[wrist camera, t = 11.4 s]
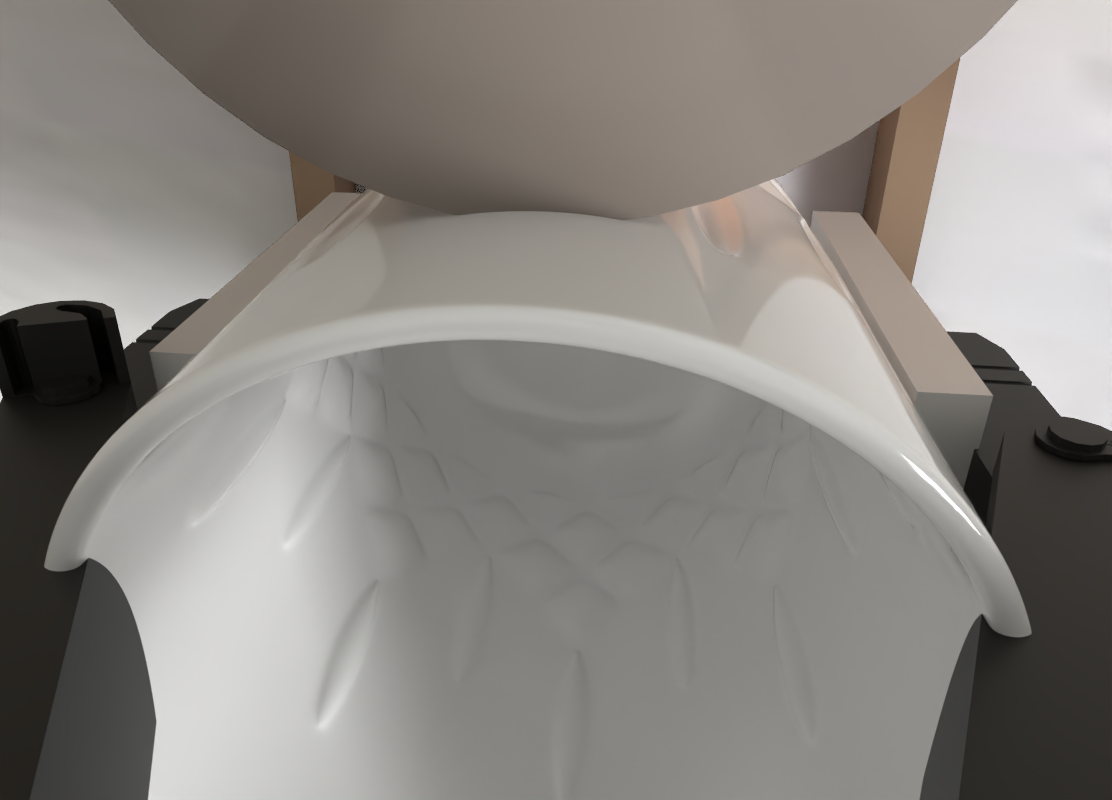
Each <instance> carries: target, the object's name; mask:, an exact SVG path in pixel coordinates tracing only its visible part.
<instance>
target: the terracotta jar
mask: <svg viewBox="0 0 1112 800" xmlns="http://www.w3.org/2000/svg"><path fill="white" fill-rule="evenodd" d="M109 1H110V2H111V3H112V4H113V6H114V7H115V8H116V9H117V10H118V11H119V12H120V13H121V14H122V15H123V17H124V18H125V19H126V20H127V21H128V22H129V23H130V24H131V25H132V27H133V28H134V29H135V30H136V31H137V32H138V33H139V34H140V35H141V36H142V38H143V39H144V40H145V41H146V42H147V43H148V44H149V45H150V46H151V47H153V48H154V49H155V50H156V51H157V52H158V53H159V54H160V55H161V56H163V57H164V58H165V59H166V60H167V61H168V62H169V63H170V64H172V65H173V66H174V67H175V68H176V69H177V70H178V71H179V72H180V73H182V74H183V75H184V76H185V77H186V78H187V79H188V80H189V81H190V82H192V83H193V84H194V85H195V86H196V87H197V88H198V89H199V90H201V91H202V92H203V93H204V94H205V95H207V96H208V97H209V98H211V99H212V100H213V101H215V102H216V103H218V104H219V105H220V106H222V107H223V108H225V109H226V110H227V111H229V112H230V113H232V114H233V115H234V116H236V117H237V118H239V119H240V120H241V121H243V122H244V123H246V124H247V125H248V126H250V127H251V128H253V129H254V130H255V131H257V132H258V133H260V134H261V135H262V136H264V137H265V138H267V139H269V140H271V141H273V142H274V143H276V144H278V145H280V146H282V147H283V148H285V149H287V150H289V151H291V152H292V153H294V154H296V155H298V156H300V157H301V158H303V159H305V160H307V161H308V162H310V163H312V164H314V165H316V166H317V167H319V168H321V169H323V170H325V171H327V172H329V173H332V174H334V175H337V176H339V177H341V178H344V179H346V180H349V181H351V182H354V183H356V184H358V185H361V186H363V187H366V188H368V189H371V190H373V191H376V192H378V193H380V194H383V195H385V196H388V197H391V198H395V199H398V200H402V201H406V202H409V203H413V204H417V205H420V206H424V207H428V208H431V209H435V210H439V211H442V212H446V213H450V214H454V215H465V214H475V213H487V212H505V211H544V212H563V213H575V214H584V215H593V216H600V217H606V218H612V219H618V220H627V219H635V218H644V217H651V216H655V215H660V214H664V213H668V212H672V211H676V210H680V209H684V208H688V207H692V206H696V205H700V204H704V203H708V202H712V201H716V200H719V199H722V198H725V197H727V196H730V195H732V194H735V193H738V192H740V191H743V190H746V189H748V188H751V187H753V186H756V185H759V184H761V183H764V182H767V181H769V180H772V179H774V178H777V177H780V176H782V175H785V174H787V173H789V172H790V171H792V170H794V169H796V168H798V167H800V166H802V165H804V164H806V163H807V162H809V161H811V160H813V159H815V158H817V157H819V156H821V155H823V154H825V153H826V152H828V151H830V150H832V149H834V148H836V147H838V146H840V145H842V144H844V143H845V142H847V141H849V140H851V139H853V138H854V137H856V136H857V135H858V134H860V133H861V132H863V131H864V130H866V129H867V128H869V127H870V126H872V125H873V124H874V123H876V122H877V121H879V120H880V119H882V118H883V117H885V116H886V115H888V114H889V113H891V112H892V111H893V110H895V109H896V108H898V107H899V106H901V105H902V104H904V103H905V102H907V101H908V100H909V99H911V98H912V97H914V96H915V95H917V94H918V93H919V92H920V91H922V90H923V89H924V88H925V87H926V86H927V85H928V84H930V83H931V82H932V81H933V80H934V79H935V78H937V77H938V76H939V75H940V74H941V73H942V72H944V71H945V70H946V69H947V68H948V67H949V66H950V65H952V64H953V63H954V62H955V61H956V60H957V59H959V58H960V57H961V56H962V55H963V54H964V53H966V52H967V51H968V50H969V49H970V48H971V47H973V46H974V45H975V44H976V43H977V42H978V41H979V40H981V39H982V38H983V37H984V36H985V35H986V34H987V32H988V31H989V30H990V29H991V28H992V27H993V26H994V25H995V24H996V23H997V22H998V21H999V20H1000V19H1001V17H1002V16H1003V15H1004V14H1005V13H1006V12H1007V11H1008V10H1009V9H1010V8H1011V7H1012V6H1013V5H1014V4H1015V3H1016V1H1017V0H109Z"/></svg>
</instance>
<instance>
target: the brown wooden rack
mask: <svg viewBox="0 0 1112 800" xmlns="http://www.w3.org/2000/svg"><path fill="white" fill-rule="evenodd" d="M959 61H960V58H959V59H957V60H956V61H955V62H954V63H953V64H952V65H950V66H949V67H948V68H947V69H946V70H945V71H944V72H942V73H941V74H940V75H939V76H938V77H937V78H935V79H934V80H933V81H932V82H931V83H930V84H928V85H927V86H926V87H925V88H924V89H923V90H922V91H920V92H919V93H918V94H917V95H915V96H914V97H912V98H911V99H909V100H908V101H907V102H905V103H904V104H902V105H901V106H899V107H898V108H896V109H895V110H893V111H892V112H891V113H889V114H888V115H886V116H885V117H883V118H882V119H880V123H879V128H878V134H877V139H876V145H875V150H874V156H873V161H872V167H871V172H870V178H869V183H868V189H867V194H866V200H865V205H864V211H863V216H862V217H863V219H864V220H865V221H866V223H867V224H868V226H869V227H870V228H871V230H872V231H873V232H874V234H875V235H876V236H877V238H878V239H879V241H880V242H881V243H882V245H883V246H884V247H885V249H886V250H887V251H888V253H889V254H890V256H891V257H892V258H893V260H894V261H895V262H896V264H897V265H898V266H899V268H900V269H901V271H902V272H903V273H904V275H905V276H906V277H907V279H908V280H909V281H910V283H912V279H913V274H914V269H915V265H916V260H917V255H918V251H919V246H920V242H921V237H922V232H923V228H924V223H925V219H926V214H927V209H928V205H929V200H930V195H931V191H932V186H933V182H934V177H935V172H936V168H937V163H938V158H939V154H940V149H941V145H942V140H943V135H944V131H945V126H946V121H947V117H948V112H949V108H950V103H951V98H952V94H953V89H954V84H955V80H956V75H957V71H958V66H959ZM289 154H290V162H291V170H292V178H293V186H294V194H295V202H296V211H297V219H298V222H299V221H300V220H301V219H302V218H303V217H304V216H306V215H307V214H308V213H309V212H310V211H311V210H313V209H314V208H315V207H316V206H317V205H318V204H319V203H321V202H322V201H323V200H324V199H325V198H326V197H327V196H329V195H330V194H331V193H332V192H343V193H356V192H355V183H354V182H351V181H349V180H346V179H344V178H341V177H339V176H337V175H334V174H332V173H329V172H327V171H325V170H323V169H321V168H319V167H317V166H316V165H314V164H312V163H310V162H308V161H307V160H305V159H303V158H301V157H300V156H298V155H296V154H294V153H292V152H291V151H289Z"/></svg>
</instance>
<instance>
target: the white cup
mask: <svg viewBox="0 0 1112 800" xmlns="http://www.w3.org/2000/svg"><path fill="white" fill-rule="evenodd" d="M88 558H91V559H93V560H96V561H97V562H99V563H101V564H102V565H103V566H105V567H106V568H107V569H108V570H109V571H110V572H111V573H112V575H113V576H114V577H115V579H116V580H117V581H118V583H119V585H120V586H121V588H122V590H123V592H124V593H125V596H126V598H127V600H128V602H129V604H130V607H131V609H132V612H133V615H134V618H135V621H136V624H137V627H138V631H139V634H140V638H141V641H142V645H143V649H144V654H145V658H146V663H147V668H148V673H149V678H150V683H151V689H152V695H153V701H154V708H155V714H156V721H157V722H156V731H155V740H154V749H153V758H152V767H151V776H150V785H149V794H148V800H920V794H921V788H922V782H923V777H924V773H925V769H926V765H927V762H928V758H929V754H930V750H931V746H932V743H933V739H934V735H935V732H936V728H937V725H938V721H939V717H940V714H941V710H942V707H943V704H944V700H945V697H946V694H947V690H948V687H949V684H950V681H951V677H952V674H953V671H954V668H955V665H956V662H957V660H958V657H959V654H960V651H961V649H962V646H963V644H964V641H965V639H966V637H967V634H968V632H969V630H970V628H971V626H972V625H973V623H974V621H975V620H976V619H977V617H978V616H979V615H980V614H983V616H984V618H985V620H986V621H987V623H988V624H989V626H990V627H991V628H992V629H993V630H994V631H996V632H998V633H1000V634H1002V635H1006V636H1010V637H1025V636H1029V635H1031V633H1032V630H1031V626H1030V622H1029V619H1028V615H1027V612H1026V609H1025V606H1024V603H1023V600H1022V597H1021V595H1020V592H1019V589H1018V587H1017V585H1016V582H1015V580H1014V578H1013V576H1012V574H1011V572H1010V569H1009V567H1008V565H1007V563H1006V561H1005V560H1004V558H1003V556H1002V554H1001V552H1000V551H999V549H998V547H997V545H996V544H995V542H994V540H993V539H992V537H991V535H990V534H989V532H988V530H987V528H986V527H985V525H984V523H983V522H982V520H981V518H980V517H979V515H978V513H977V512H976V510H975V508H974V506H973V505H972V503H971V501H970V500H969V498H968V496H967V495H966V493H965V491H964V489H963V488H962V486H961V484H960V483H959V481H958V479H957V478H956V476H955V474H954V472H953V471H952V469H951V467H950V466H949V464H948V462H947V461H946V459H945V457H944V455H943V454H942V452H941V450H940V449H939V447H938V445H937V443H936V442H935V440H934V438H933V437H932V435H931V433H930V431H929V430H928V428H927V426H926V425H925V423H924V421H923V419H922V418H921V416H920V414H919V412H918V411H917V409H916V407H915V405H914V404H913V402H912V400H911V398H910V397H909V395H908V393H907V391H906V390H905V388H904V386H903V384H902V383H901V381H900V379H899V377H898V376H897V374H896V372H895V370H894V369H893V367H892V365H891V363H890V362H889V360H888V358H887V356H886V355H885V353H884V351H883V349H882V348H881V346H880V344H879V342H878V341H877V339H876V337H875V335H874V333H873V332H872V330H871V328H870V326H869V325H868V323H867V321H866V319H865V318H864V316H863V314H862V312H861V310H860V309H859V307H858V305H857V303H856V302H855V300H854V298H853V296H852V295H851V293H850V291H849V289H848V288H847V286H846V284H845V282H844V281H843V279H842V277H841V276H840V274H839V272H838V271H837V269H836V267H835V266H834V264H833V263H832V261H831V259H830V258H829V256H828V255H827V253H826V251H825V250H824V248H823V247H822V245H821V244H820V242H819V241H818V239H817V238H816V237H815V235H814V234H813V232H812V231H811V229H810V228H809V226H808V224H807V223H806V221H805V219H804V218H803V217H802V216H801V214H800V213H799V211H798V210H797V208H796V207H795V205H794V204H793V202H792V201H791V199H790V198H789V196H788V195H787V193H786V192H785V191H784V189H783V188H782V186H781V185H780V184H779V183H778V182H777V181H776V180H775V179H772V180H769V181H767V182H764V183H761V184H759V185H756V186H753V187H751V188H748V189H746V190H743V191H740V192H738V193H735V194H732V195H730V196H727V197H725V198H722V199H719V200H716V201H712V202H708V203H704V204H700V205H696V206H692V207H688V208H684V209H680V210H676V211H672V212H668V213H664V214H660V215H655V216H651V217H644V218H635V219H627V220H618V219H612V218H606V217H600V216H593V215H584V214H575V213H563V212H544V211H505V212H487V213H475V214H465V215H454V214H450V213H446V212H442V211H439V210H435V209H431V208H428V207H424V206H420V205H417V204H413V203H409V202H406V201H402V200H398V199H395V198H391V197H388V196H385V195H383V194H380V193H378V192H376V191H373V190H371V189H367V190H366V191H364V192H363V193H362V194H361V195H360V196H358V197H357V198H356V199H355V200H353V201H352V202H351V203H350V204H349V205H347V206H346V207H345V208H344V209H343V210H342V211H341V212H340V213H339V214H338V215H337V216H336V217H335V218H334V219H332V220H331V221H330V222H329V223H328V224H327V225H326V226H325V227H324V228H323V229H322V230H321V231H320V232H319V233H318V234H317V235H316V236H315V237H314V238H313V239H312V240H311V241H310V242H309V243H308V244H307V245H306V246H305V247H304V248H303V249H302V250H301V251H300V252H299V253H298V254H297V255H296V256H295V257H294V258H293V259H292V260H291V261H290V262H289V263H288V264H287V265H286V266H285V267H284V268H283V269H282V270H281V271H280V272H279V273H278V274H277V275H276V276H275V277H274V278H273V279H272V280H271V281H270V282H269V283H268V284H267V285H266V286H265V287H264V288H263V289H262V290H261V291H260V292H259V293H258V294H257V295H256V296H255V297H254V298H253V299H252V300H251V301H250V302H249V303H248V304H247V305H246V306H245V307H244V308H243V309H242V310H241V311H240V312H239V313H238V314H237V315H236V316H235V317H234V318H233V319H232V320H231V321H229V322H228V323H227V324H226V325H225V326H224V327H223V328H222V329H221V330H220V331H219V332H218V333H217V334H216V335H215V336H214V337H213V338H212V339H211V340H210V341H209V342H208V343H207V344H206V345H205V346H204V347H203V348H202V349H201V350H200V351H199V352H198V353H197V354H196V355H195V356H194V357H192V358H191V359H190V360H189V361H188V362H187V363H186V364H185V365H184V366H183V367H182V368H181V369H180V370H179V371H178V372H177V373H176V374H175V375H174V376H173V377H172V378H171V379H170V380H169V381H168V382H167V383H166V384H165V385H164V386H162V387H161V388H160V389H159V390H158V391H157V392H156V393H155V394H154V395H153V396H152V397H151V398H150V399H149V400H148V401H147V402H146V403H145V404H144V405H143V406H142V407H141V408H140V409H139V410H138V411H137V412H135V413H134V414H133V415H132V416H131V417H130V418H129V419H128V420H127V421H126V422H125V423H124V424H123V425H122V426H121V427H120V428H119V429H118V430H117V431H116V432H115V433H114V434H113V435H112V436H111V437H110V439H109V440H108V441H107V442H106V443H105V444H104V445H103V447H102V448H101V449H100V450H99V451H98V452H97V454H96V455H95V456H94V458H93V459H92V460H91V461H90V463H89V464H88V466H87V467H86V468H85V470H84V471H83V473H82V474H81V476H80V477H79V479H78V480H77V482H76V484H75V485H74V487H73V489H72V491H71V492H70V494H69V496H68V498H67V500H66V502H65V504H64V506H63V508H62V510H61V513H60V515H59V517H58V520H57V522H56V525H55V527H54V530H53V533H52V536H51V539H50V542H49V546H48V550H47V554H46V558H45V563H44V567H45V568H46V569H48V570H51V571H68V570H72V569H75V568H77V567H79V566H80V565H82V564H83V563H84V562H85V561H86V560H87V559H88Z"/></svg>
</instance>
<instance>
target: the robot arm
mask: <svg viewBox="0 0 1112 800" xmlns="http://www.w3.org/2000/svg"><path fill="white" fill-rule="evenodd" d="M361 194H362V193H343V192H332V193H331V194H330V195H329V196H327V197H326V198H325V199H324V200H323V201H322V202H321V203H319V204H318V205H317V206H316V207H315V208H314V209H313V210H311V211H310V212H309V213H308V214H307V215H306V216H304V217H303V218H302V219H301V220H300V221H299V222H298V223H296V224H295V225H294V226H293V227H292V228H291V229H290V230H288V231H287V232H286V233H285V234H284V235H283V236H282V237H280V238H279V239H278V240H277V241H276V242H275V243H273V244H272V245H271V246H270V247H269V248H268V249H267V250H265V251H264V252H263V253H262V254H261V255H260V256H259V257H257V258H256V259H255V260H254V261H253V262H252V263H251V264H249V265H248V266H247V267H246V268H245V269H244V270H243V271H241V272H240V273H239V274H238V275H237V276H236V277H234V278H233V279H232V280H231V281H230V282H229V283H228V284H226V285H225V286H224V287H223V288H222V289H221V290H220V291H218V292H217V293H216V294H215V295H214V296H213V297H212V298H210V299H198V300H195V301H193V302H191V303H188V304H186V305H184V306H181V307H179V308H177V309H174V310H172V311H170V312H169V313H167V314H166V315H165V316H164V317H163V318H161V319H160V320H159V321H158V322H157V323H155V324H154V325H153V326H152V329H151V330H147V331H146V332H144V333H143V334H142V335H141V336H140V337H138V338H137V339H136V343H135V342H132V343H131V344H130V345H129V346H127V347H126V348H125V349H124V350H123V345H122V341H121V337H120V332H119V328H118V324H117V320H116V315H115V312H114V309H113V308H111V307H109V306H107V305H105V304H103V303H97V302H91V301H57V302H50V303H44V304H37V305H32V306H29V307H25V308H21V309H18V310H14V311H11V312H9V313H7V314H4V315H2V316H0V390H1V393H2V396H3V398H2V400H1V402H0V800H148V794H149V785H150V776H151V767H152V758H153V749H154V740H155V731H156V722H157V721H156V714H155V708H154V701H153V695H152V689H151V683H150V678H149V673H148V668H147V663H146V658H145V654H144V649H143V645H142V641H141V638H140V634H139V631H138V627H137V624H136V621H135V618H134V615H133V612H132V609H131V607H130V604H129V602H128V600H127V598H126V596H125V593H124V592H123V590H122V588H121V586H120V585H119V583H118V581H117V580H116V579H115V577H114V576H113V575H112V573H111V572H110V571H109V570H108V569H107V568H106V567H105V566H103V565H102V564H101V563H99V562H97V561H96V560H93V559H91V558H88V559H87V560H86V561H85V562H84V563H83V564H82V565H80V566H79V567H77V568H75V569H72V570H68V571H51V570H48V569H46V568H45V567H44V563H45V558H46V554H47V550H48V546H49V542H50V539H51V536H52V533H53V530H54V527H55V525H56V522H57V520H58V517H59V515H60V513H61V510H62V508H63V506H64V504H65V502H66V500H67V498H68V496H69V494H70V492H71V491H72V489H73V487H74V485H75V484H76V482H77V480H78V479H79V477H80V476H81V474H82V473H83V471H84V470H85V468H86V467H87V466H88V464H89V463H90V461H91V460H92V459H93V458H94V456H95V455H96V454H97V452H98V451H99V450H100V449H101V448H102V447H103V445H104V444H105V443H106V442H107V441H108V440H109V439H110V437H111V436H112V435H113V434H114V433H115V432H116V431H117V430H118V429H119V428H120V427H121V426H122V425H123V424H124V423H125V422H126V421H127V420H128V419H129V418H130V417H131V416H132V415H133V414H134V413H135V412H137V411H138V410H139V409H140V408H141V407H142V406H143V405H144V404H145V403H146V402H147V401H148V400H149V399H150V398H151V397H152V396H153V395H154V394H155V393H156V392H157V391H158V390H159V389H160V388H161V387H162V386H164V385H165V384H166V383H167V382H168V381H169V380H170V379H171V378H172V377H173V376H174V375H175V374H176V373H177V372H178V371H179V370H180V369H181V368H182V367H183V366H184V365H185V364H186V363H187V362H188V361H189V360H190V359H191V358H192V357H194V356H195V355H196V354H197V353H198V352H199V351H200V350H201V349H202V348H203V347H204V346H205V345H206V344H207V343H208V342H209V341H210V340H211V339H212V338H213V337H214V336H215V335H216V334H217V333H218V332H219V331H220V330H221V329H222V328H223V327H224V326H225V325H226V324H227V323H228V322H229V321H231V320H232V319H233V318H234V317H235V316H236V315H237V314H238V313H239V312H240V311H241V310H242V309H243V308H244V307H245V306H246V305H247V304H248V303H249V302H250V301H251V300H252V299H253V298H254V297H255V296H256V295H257V294H258V293H259V292H260V291H261V290H262V289H263V288H264V287H265V286H266V285H267V284H268V283H269V282H270V281H271V280H272V279H273V278H274V277H275V276H276V275H277V274H278V273H279V272H280V271H281V270H282V269H283V268H284V267H285V266H286V265H287V264H288V263H289V262H290V261H291V260H292V259H293V258H294V257H295V256H296V255H297V254H298V253H299V252H300V251H301V250H302V249H303V248H304V247H305V246H306V245H307V244H308V243H309V242H310V241H311V240H312V239H313V238H314V237H315V236H316V235H317V234H318V233H319V232H320V231H321V230H322V229H323V228H324V227H325V226H326V225H327V224H328V223H329V222H330V221H331V220H332V219H334V218H335V217H336V216H337V215H338V214H339V213H340V212H341V211H342V210H343V209H344V208H345V207H346V206H347V205H349V204H350V203H351V202H352V201H353V200H355V199H356V198H357V197H358V196H360V195H361ZM810 229H811V231H812V232H813V234H814V235H815V237H816V238H817V239H818V241H819V242H820V244H821V245H822V247H823V248H824V250H825V251H826V253H827V255H828V256H829V258H830V259H831V261H832V263H833V264H834V266H835V267H836V269H837V271H838V272H839V274H840V276H841V277H842V279H843V281H844V282H845V284H846V286H847V288H848V289H849V291H850V293H851V295H852V296H853V298H854V300H855V302H856V303H857V305H858V307H859V309H860V310H861V312H862V314H863V316H864V318H865V319H866V321H867V323H868V325H869V326H870V328H871V330H872V332H873V333H874V335H875V337H876V339H877V341H878V342H879V344H880V346H881V348H882V349H883V351H884V353H885V355H886V356H887V358H888V360H889V362H890V363H891V365H892V367H893V369H894V370H895V372H896V374H897V376H898V377H899V379H900V381H901V383H902V384H903V386H904V388H905V390H906V391H907V393H908V395H909V397H910V398H911V400H912V402H913V404H914V405H915V407H916V409H917V411H918V412H919V414H920V416H921V418H922V419H923V421H924V423H925V425H926V426H927V428H928V430H929V431H930V433H931V435H932V437H933V438H934V440H935V442H936V443H937V445H938V447H939V449H940V450H941V452H942V454H943V455H944V457H945V459H946V461H947V462H948V464H949V466H950V467H951V469H952V471H953V472H954V474H955V476H956V478H957V479H958V481H959V483H960V484H961V486H962V488H963V489H964V491H965V493H966V495H967V496H968V498H969V500H970V501H971V503H972V505H973V506H974V508H975V510H976V512H977V513H978V515H979V517H980V518H981V520H982V522H983V523H984V525H985V527H986V528H987V530H988V532H989V534H990V535H991V537H992V539H993V540H994V542H995V544H996V545H997V547H998V549H999V551H1000V552H1001V554H1002V556H1003V558H1004V560H1005V561H1006V563H1007V565H1008V567H1009V569H1010V572H1011V574H1012V576H1013V578H1014V580H1015V582H1016V585H1017V587H1018V589H1019V592H1020V595H1021V597H1022V600H1023V603H1024V606H1025V609H1026V612H1027V615H1028V619H1029V622H1030V626H1031V630H1032V633H1031V635H1029V636H1025V637H1010V636H1006V635H1002V634H1000V633H998V632H996V631H994V630H993V629H992V628H991V627H990V626H989V624H988V623H987V621H986V620H985V618H984V616H983V614H980V615H979V616H978V617H977V619H976V620H975V621H974V623H973V625H972V626H971V628H970V630H969V632H968V634H967V637H966V639H965V641H964V644H963V646H962V649H961V651H960V654H959V657H958V660H957V662H956V665H955V668H954V671H953V674H952V677H951V681H950V684H949V687H948V690H947V694H946V697H945V700H944V704H943V707H942V710H941V714H940V717H939V721H938V725H937V728H936V732H935V735H934V739H933V743H932V746H931V750H930V754H929V758H928V762H927V765H926V769H925V773H924V777H923V782H922V788H921V794H920V800H1112V431H1110V430H1108V429H1106V428H1104V427H1101V426H1099V425H1096V424H1092V423H1089V422H1085V421H1082V420H1078V419H1075V418H1068V417H1061V416H1060V415H1059V414H1058V413H1057V412H1056V410H1055V409H1054V408H1053V407H1052V406H1051V404H1050V403H1049V402H1048V401H1047V400H1046V398H1045V397H1044V396H1043V395H1042V394H1041V392H1040V391H1039V390H1038V389H1037V388H1036V386H1032V382H1031V381H1030V379H1029V378H1028V377H1027V376H1026V375H1025V373H1024V372H1023V371H1019V366H1018V365H1017V364H1016V363H1015V361H1014V360H1013V359H1012V358H1011V357H1010V355H1009V354H1008V353H1007V352H1006V351H1005V350H1004V349H1003V348H1001V347H999V346H998V345H996V344H994V343H992V342H991V341H989V340H987V339H985V338H984V337H982V336H980V335H979V334H977V333H964V332H946V331H945V329H944V328H943V326H942V325H941V324H940V322H939V321H938V320H937V318H936V317H935V316H934V314H933V313H932V311H931V310H930V309H929V307H928V306H927V305H926V303H925V302H924V301H923V299H922V298H921V296H920V295H919V294H918V292H917V291H916V290H915V288H914V287H913V286H912V284H911V283H910V281H909V280H908V279H907V277H906V276H905V275H904V273H903V272H902V271H901V269H900V268H899V266H898V265H897V264H896V262H895V261H894V260H893V258H892V257H891V256H890V254H889V253H888V251H887V250H886V249H885V247H884V246H883V245H882V243H881V242H880V241H879V239H878V238H877V236H876V235H875V234H874V232H873V231H872V230H871V228H870V227H869V226H868V224H867V223H866V221H865V220H864V219H863V217H862V216H861V215H860V213H856V212H830V211H813V213H812V219H811V226H810Z"/></svg>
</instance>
